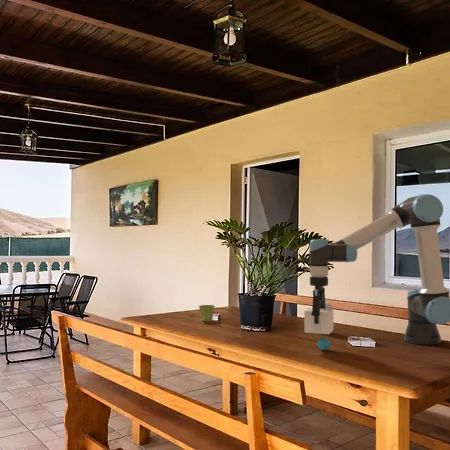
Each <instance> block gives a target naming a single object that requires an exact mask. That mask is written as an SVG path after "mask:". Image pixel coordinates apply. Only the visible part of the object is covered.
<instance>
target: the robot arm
mask: <svg viewBox="0 0 450 450" xmlns="http://www.w3.org/2000/svg"><path fill="white" fill-rule="evenodd" d="M443 213H444V204H443V203H442V201H441V200H440V199H439V198H438V197H437V196H435V195H433V194H426V193H425V194H424V193H423V194H419V195H416V196H412V197H409V198H407V199H404V201H402V202H400V203H399V204H397V205H395V206H394V207H392V208H390V209H389V211H388V213H387V214H385V215H383V216H381V217H379V218H377V219H375V220H373V221H372V222H370V223H368V224H367V225H366V224H365V225H364V226H363V227H361V228H359V229H357V230H356V231H354V232H352V233H350V234H348V235H346V236H345V237H343V238H341V239H340V240H338V241H337V240H336V241H335V242H334V243H329V241H328V240H327V239H311V240H310V242H309V250H308V251H309V267H308V271H309V275H310V276H309V285H310V286H312V287H314V289H313V291H312V307H311V308H312V313H311V315H312V316H313V331H314V332H320V316H319V315H320V308H323V309H326V304H325V302H326V292H325V291H326V288H325V287H328V285H329V277H328V276H329V263H354V262H355V261H356V260H357V258H358V250H359V249H361V248H363V247H364V246H366V245H368V244H370V243H372V242H374V241H376V240H378V239H379V238H381V237H383V236H385V235H386V234H388V233H390V232H392V231H394V230H396V229H402V228H405V227H406V226H409V225H410V229H411V230H413V231H414V233H415V241H416V242H415V243H416V248H417V249H416V250H417V257H418V258H417V259H418V263H419V264H418V266H419V272H420V273H419V274H420V275H419V276H420V282H421V288H420V289H413V290H412V289H410V290H408V292H407V298H406V299H407V326H406V329H405V332H404V337H403V338H404V341H405V342H407V343H410V344H416V345H422V346H423V345H425V346H427V345H428V346H429V345H431V346H433V345H439V344H441V343H442V336H441V334H440V332H439V329H438V326H437V325H446V324H448V323H450V290H449V289H448V288H447V287H445V283H444V275H443V266H442V259H441V251H440V250H441V249H440V243H439V235H438V229H439V228H440V227H441V217H442V216H443Z"/></svg>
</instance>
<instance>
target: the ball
mask: <svg viewBox="0 0 450 450" xmlns="http://www.w3.org/2000/svg"><path fill="white" fill-rule="evenodd" d="M317 341H318V342H317V346H318V348H319V349H320V350H322V351H327V350H329V348H330V346H331V342H330V340H329V339H328V338H326V337H321V338H319V339H318V340H317Z"/></svg>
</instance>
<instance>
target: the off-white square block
mask: <svg viewBox="0 0 450 450" xmlns="http://www.w3.org/2000/svg"><path fill="white" fill-rule="evenodd" d="M303 312H304V313H303V314H304V316H303V318H304V320H303V321H304V333H307V334H308V333H309V334H318V333H319V335H330V334H332V332H333V331H334V327H335V326H334V309H333V308H332V309H323V308H320V315H319V316H320V332H314V331H313V316H312V315H311V313H312V307H308V308H307V309H305V310H304V311H303Z"/></svg>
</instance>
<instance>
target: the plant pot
mask: <svg viewBox="0 0 450 450" xmlns="http://www.w3.org/2000/svg"><path fill="white" fill-rule="evenodd" d="M215 307H216V306H215V305H214V304H201V305H198V308H199V311H200V317H201V319H200V320H201V322H206V323H208V322H209V323H210V322H213V317H214V310H215Z"/></svg>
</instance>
